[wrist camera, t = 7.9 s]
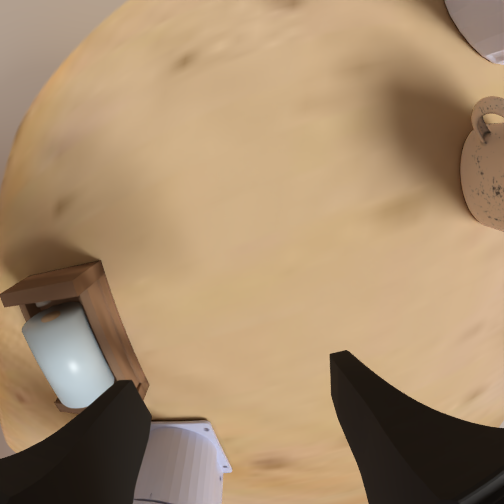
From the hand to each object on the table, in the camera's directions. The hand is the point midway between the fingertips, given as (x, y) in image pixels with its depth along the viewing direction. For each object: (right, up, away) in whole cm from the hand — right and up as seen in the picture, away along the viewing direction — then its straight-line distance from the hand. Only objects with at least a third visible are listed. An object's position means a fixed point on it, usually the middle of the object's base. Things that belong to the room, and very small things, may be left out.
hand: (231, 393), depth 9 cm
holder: (-13, -2, +10) cm, 16 cm away
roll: (-12, -2, +9) cm, 16 cm away
